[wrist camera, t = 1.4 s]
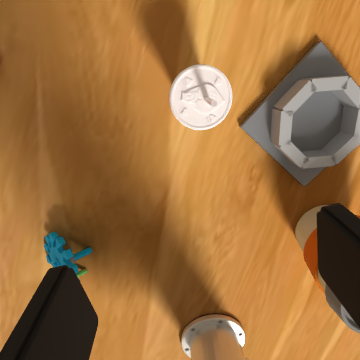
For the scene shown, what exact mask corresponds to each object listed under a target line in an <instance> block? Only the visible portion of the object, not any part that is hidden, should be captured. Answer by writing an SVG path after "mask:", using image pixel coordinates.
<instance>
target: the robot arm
mask: <svg viewBox="0 0 360 360" xmlns="http://www.w3.org/2000/svg"><path fill="white" fill-rule="evenodd" d="M317 253H318V270H319V273H320V275H321V277H322V279H323V280H324V281H325V283H326V284H327V285H328V287H329V288H330V289H331V291H332V292H333V293H334V295H335V296H336V297H337V299H338V300H339V301H340V303H341V304H342V305H343V307H344V308H345V310H346V311H347V312H348V314H349V315H350V316H351V318H352V319H353V320H354V322H355V323H356V324H357V326H358V327H359V328H360V219H359V218H358V217H357V216H355V215H354V214H353V213H352V212H350V211H349V210H348V209H346V208H345V207H344V206H343V205H341V204H339V203H336V204H332V205H328V206H323V207H321V209H320V211H319V212H317ZM97 327H98V317H97V314H96V312H95V310H94V308H93V306H92V304H91V302H90V300H89V299H88V297H87V295H86V293H85V291H84V289H83V287H82V285H81V283H80V281H79V279H78V277H77V275H76V273H75V271H74V270H73V268H69V267H68V266H67V265H62V266H58V267H53V268H50V269H49V270H48V271H47V273H46V275H45V276H44V278H43V280H42V282H41V283H40V285H39V287H38V288H37V290H36V292H35V294H34V295H33V297H32V299H31V300H30V302H29V304H28V306H27V307H26V309H25V311H24V312H23V314H22V316H21V318H20V319H19V321H18V323H17V325H16V326H15V328H14V330H13V331H12V333H11V335H10V337H9V338H8V340H7V342H6V343H5V345H4V347H3V349H2V350H1V352H0V360H89V357H90V353H91V350H92V346H93V342H94V338H95V334H96V331H97ZM181 343H182V348H183V351H184V352H185V353H186V355H188V356H189V357H190V358H191V360H249V359H247V358H245V357H244V355H243V351H242V347H243V345H244V343H245V334H244V330H243V328H242V326H241V324H240V323H239V322H238V321H236V320H235V319H233V318H231V317H229V316H225V315H218V314H214V315H206V316H203V317H200V318H197V319H196V320H194V321H192V322H191V323H190V324H188V325H187V327H186V328H185V329H184V331H183V333H182V337H181Z"/></svg>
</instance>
